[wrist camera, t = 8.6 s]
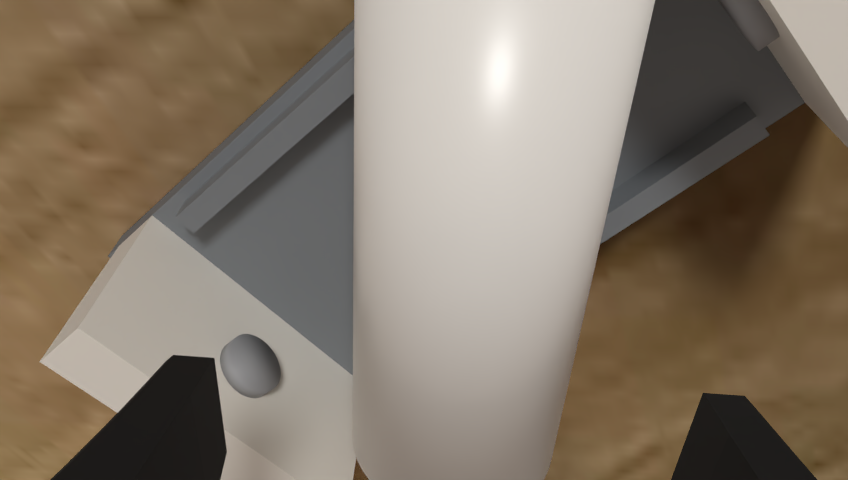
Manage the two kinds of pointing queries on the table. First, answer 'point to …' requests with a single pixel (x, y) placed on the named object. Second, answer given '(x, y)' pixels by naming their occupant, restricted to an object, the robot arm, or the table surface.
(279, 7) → the table surface
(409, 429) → the cylinder
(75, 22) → the table surface
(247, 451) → the holder
